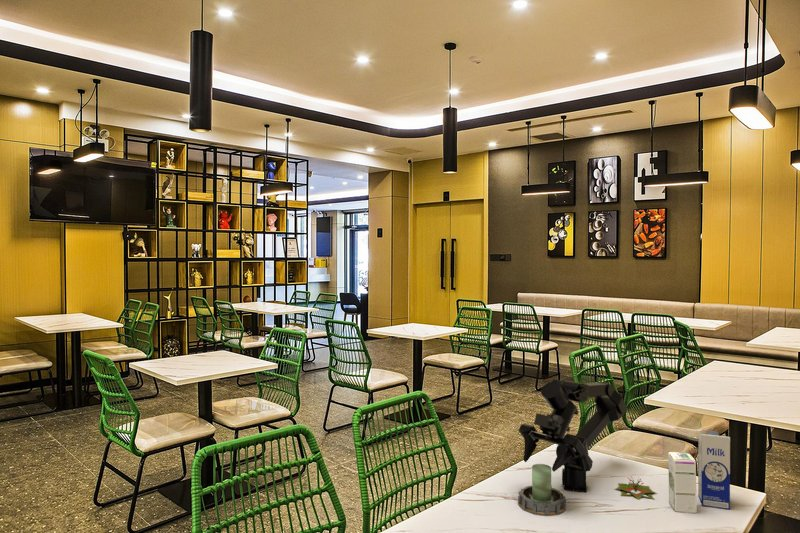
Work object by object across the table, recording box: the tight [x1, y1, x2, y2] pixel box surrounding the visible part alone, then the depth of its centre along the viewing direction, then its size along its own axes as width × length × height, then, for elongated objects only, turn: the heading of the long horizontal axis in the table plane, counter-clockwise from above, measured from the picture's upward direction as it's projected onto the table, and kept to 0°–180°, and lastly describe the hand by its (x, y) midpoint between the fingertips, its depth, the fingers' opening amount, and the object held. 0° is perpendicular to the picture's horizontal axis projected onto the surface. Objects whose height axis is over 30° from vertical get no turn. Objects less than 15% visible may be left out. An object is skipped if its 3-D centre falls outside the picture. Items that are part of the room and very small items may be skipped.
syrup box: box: [667, 451, 698, 514], centre depth 148 cm, size 6×6×14 cm
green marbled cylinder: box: [529, 463, 554, 502], centre depth 151 cm, size 7×7×10 cm
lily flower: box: [616, 476, 658, 501], centre depth 159 cm, size 12×12×5 cm
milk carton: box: [697, 430, 731, 510], centre depth 151 cm, size 7×7×20 cm
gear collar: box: [517, 485, 567, 517], centre depth 151 cm, size 13×13×3 cm
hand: (538, 465), depth 150 cm, fingers open, 9 cm apart
